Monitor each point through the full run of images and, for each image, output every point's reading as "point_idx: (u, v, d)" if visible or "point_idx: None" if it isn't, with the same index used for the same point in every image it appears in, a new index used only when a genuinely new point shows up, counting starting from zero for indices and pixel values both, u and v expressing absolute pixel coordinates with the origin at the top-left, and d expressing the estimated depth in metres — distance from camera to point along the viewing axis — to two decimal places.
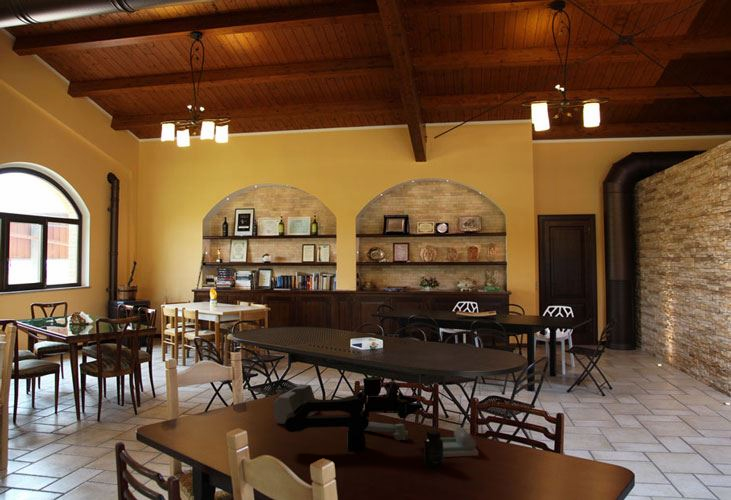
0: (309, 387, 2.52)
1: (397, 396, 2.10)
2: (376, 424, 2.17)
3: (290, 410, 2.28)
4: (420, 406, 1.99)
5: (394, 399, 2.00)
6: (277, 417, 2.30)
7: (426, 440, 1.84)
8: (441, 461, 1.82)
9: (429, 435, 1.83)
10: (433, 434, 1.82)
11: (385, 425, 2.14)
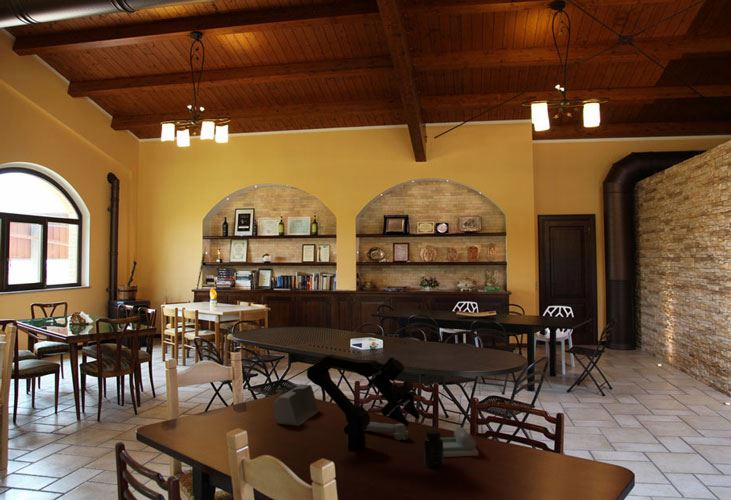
0: (309, 387, 2.52)
1: (409, 399, 1.97)
2: (376, 424, 2.17)
3: (290, 410, 2.28)
4: (406, 423, 1.85)
5: (395, 396, 1.90)
6: (277, 417, 2.30)
7: (426, 440, 1.84)
8: (441, 461, 1.82)
9: (429, 435, 1.83)
10: (433, 434, 1.82)
11: (385, 425, 2.14)
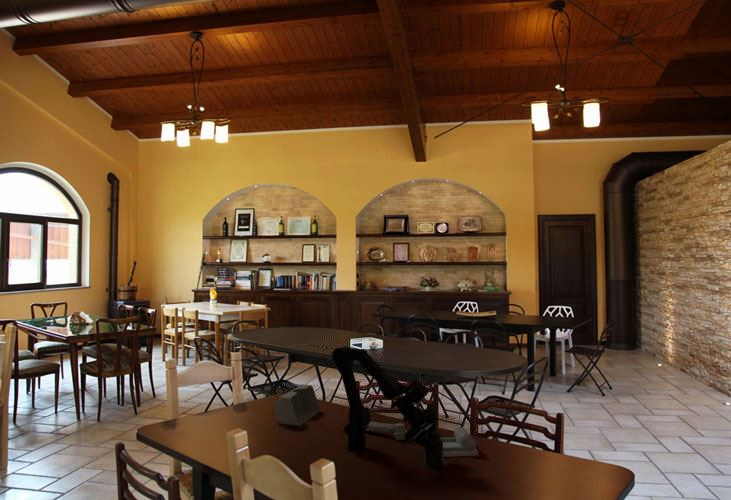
0: (311, 387, 2.51)
1: None
2: (376, 424, 2.17)
3: (292, 410, 2.27)
4: (431, 448, 1.81)
5: (419, 420, 1.84)
6: (279, 417, 2.30)
7: None
8: (441, 460, 1.82)
9: (429, 435, 1.83)
10: (433, 434, 1.82)
11: (385, 425, 2.15)
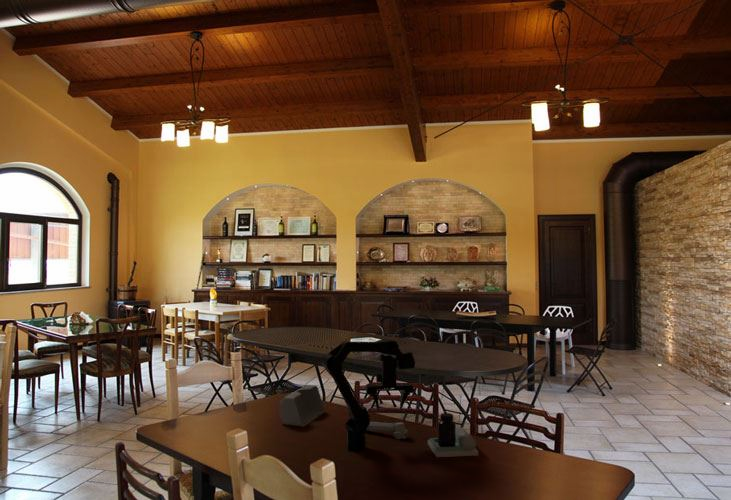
0: (315, 388, 2.50)
1: None
2: (375, 423, 2.17)
3: (295, 411, 2.27)
4: None
5: None
6: (282, 418, 2.29)
7: (442, 423, 1.98)
8: (455, 440, 1.99)
9: (445, 418, 1.97)
10: (449, 417, 1.97)
11: (384, 424, 2.15)
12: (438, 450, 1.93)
